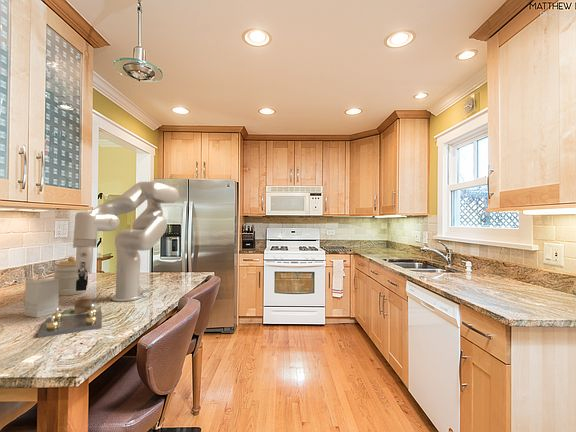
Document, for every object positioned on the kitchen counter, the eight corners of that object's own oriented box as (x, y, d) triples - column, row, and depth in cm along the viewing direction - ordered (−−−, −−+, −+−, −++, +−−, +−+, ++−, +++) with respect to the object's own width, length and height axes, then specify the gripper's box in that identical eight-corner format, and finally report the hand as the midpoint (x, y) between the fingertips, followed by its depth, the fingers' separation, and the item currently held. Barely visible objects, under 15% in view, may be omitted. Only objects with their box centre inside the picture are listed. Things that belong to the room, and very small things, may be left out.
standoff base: (101, 314, 108) (102, 301, 109) (101, 327, 95) (102, 312, 95) (46, 321, 100) (47, 307, 100) (38, 337, 86) (38, 320, 86)
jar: (92, 291, 144) (93, 256, 145) (62, 297, 132) (64, 258, 133) (76, 288, 149) (77, 254, 150) (46, 293, 138) (48, 256, 138)
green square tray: (101, 306, 120) (101, 292, 120) (101, 314, 110) (101, 299, 110) (64, 311, 113) (65, 296, 114) (61, 319, 103) (61, 303, 103)
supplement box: (58, 312, 110) (60, 279, 111) (36, 318, 103) (37, 282, 104) (45, 310, 113) (47, 277, 113) (23, 315, 106) (24, 281, 106)
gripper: (96, 244, 107) (92, 291, 106) (96, 243, 122) (93, 284, 120) (71, 244, 103) (67, 293, 102) (74, 242, 118) (71, 285, 116)
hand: (81, 288), depth 111 cm, fingers open, 9 cm apart
